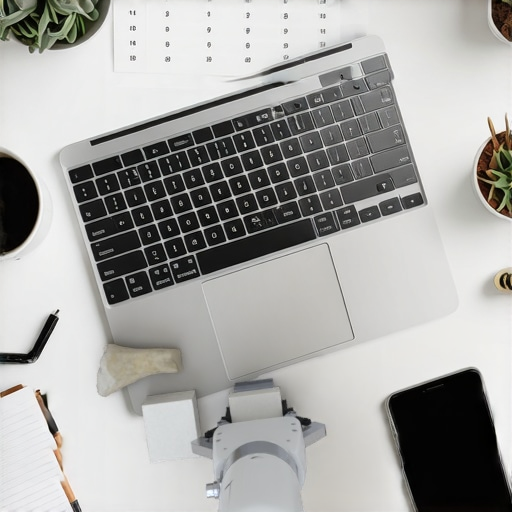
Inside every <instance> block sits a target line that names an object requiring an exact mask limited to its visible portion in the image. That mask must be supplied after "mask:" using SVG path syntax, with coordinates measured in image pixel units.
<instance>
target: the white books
mask: <svg viewBox="0 0 512 512" xmlns="http://www.w3.org/2000/svg"><path fill="white" fill-rule="evenodd" d="M141 410H142V411H141V412H142V419H143V425H144V431H145V438H146V444H147V450H148V457H149V464H157V463H165V462H173V461H180V460H188V459H196V458H201V456H200V455H197V454H194V453H192V448H191V441H193V440H195V439H197V438H199V437H201V436H203V435H202V429H201V423H200V422H201V421H200V414H199V407H198V401H197V395H196V390H195V389H190V390H183V391H176V392H168V393H162V394H161V393H160V394H153V395H147V396H146V397H145V398H144V400H143V402H142V404H141Z"/></svg>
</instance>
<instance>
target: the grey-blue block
mask: <svg viewBox="0 0 512 512" xmlns="http://www.w3.org/2000/svg"><path fill="white" fill-rule="evenodd" d="M274 386H275V385H274V379H273V378H265V379H264V378H263V379H258V380H257V379H256V380H248V381H242V382H241V381H240V382H235V383H234V387H233V388H234V389H233V393H237V392H244V391H252V390H260V389H267V388H275V387H274Z"/></svg>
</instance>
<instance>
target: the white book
mask: <svg viewBox="0 0 512 512" xmlns="http://www.w3.org/2000/svg"><path fill="white" fill-rule="evenodd" d="M280 389H281V388H280V387H279V386H277V387H274V388H267V389H260V390H252V391H244V392H237V393H234V392H230V393H228V407H230V414H231V419H232V423H237V422H244V421H252V420H259V419H267V418H276V417H283V413H282V403H281V401H282V396H281V390H280Z"/></svg>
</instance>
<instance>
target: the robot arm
mask: <svg viewBox="0 0 512 512" xmlns="http://www.w3.org/2000/svg"><path fill="white" fill-rule="evenodd" d="M281 403H282V413H283V417H276V418H267V419H259V420H252V421H244V422H237V423H232V419H231V414H230V406H227V407H225V413H224V414H225V415H224V416H223V415H222V416H221V417H220V420H218V421H217V422H216V425H217V426H216V427H213V428H211V429H209V430H207V431H205V432H204V434H203V435H202V436H201V437H199V438H197V439H195V440H193V441H191V448H192V453H194V454H197V455H200V457H204V458H207V459H210V460H212V465H213V467H212V468H213V478H214V481H213V482H209V483H206V484H205V494H206V498H207V499H213V498H214V499H215V500H218V508H217V512H305V509H304V504H303V503H304V502H303V497H302V492H301V491H302V489H303V488H304V486H305V483H306V479H307V472H308V462H307V452H306V448H308V447H309V446H312V445H314V444H315V443H317V442H318V441H320V440H321V439H323V438H325V437H326V436H327V430H326V429H327V428H326V424H325V423H323V422H322V423H321V422H318V421H312V419H311V418H309V417H303V416H299V415H298V412H297V411H296V410H294V407H288V403H287V399H281Z"/></svg>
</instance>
